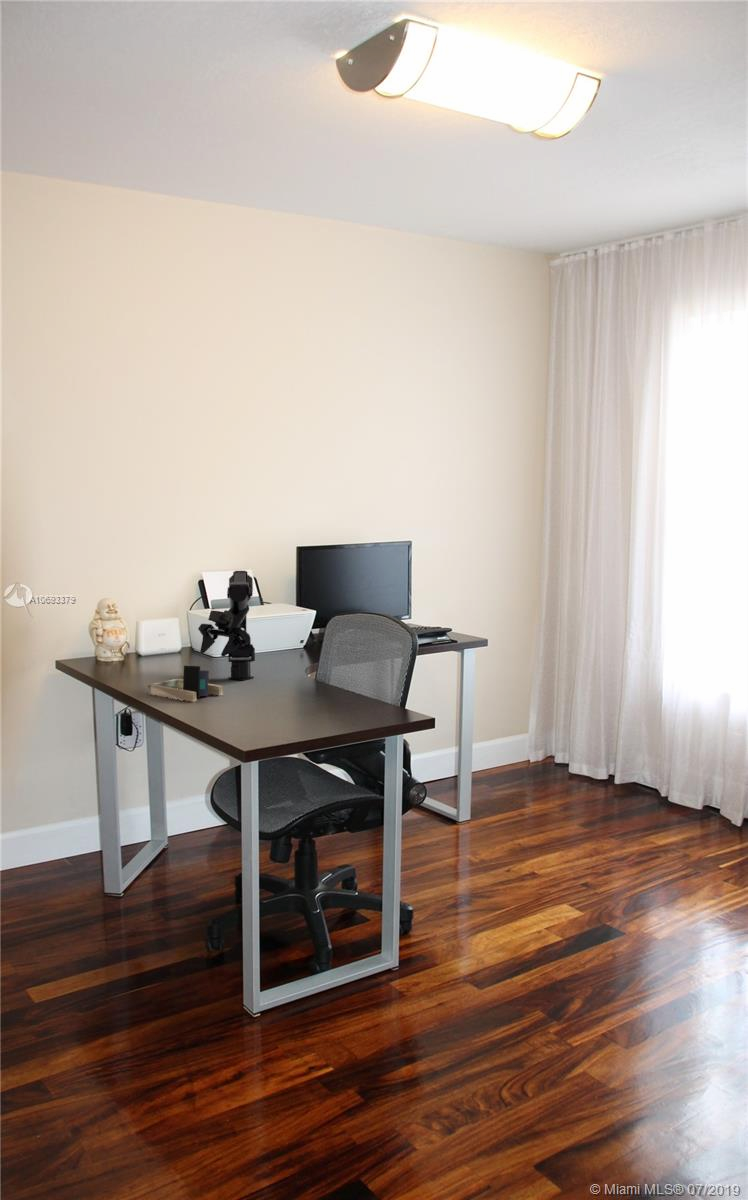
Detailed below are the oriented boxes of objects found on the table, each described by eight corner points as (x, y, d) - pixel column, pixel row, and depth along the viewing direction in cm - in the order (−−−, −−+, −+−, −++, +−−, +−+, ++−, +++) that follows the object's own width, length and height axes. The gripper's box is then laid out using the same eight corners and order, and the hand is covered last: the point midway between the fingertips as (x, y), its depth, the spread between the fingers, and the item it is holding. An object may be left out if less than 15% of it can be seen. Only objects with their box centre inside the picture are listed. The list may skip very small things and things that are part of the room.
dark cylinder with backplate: (196, 699, 303) (196, 666, 303) (182, 698, 306) (182, 665, 306) (212, 697, 309) (212, 665, 309) (198, 696, 312) (198, 664, 312)
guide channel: (177, 687, 323) (177, 678, 322) (222, 695, 311) (222, 685, 310) (147, 694, 312) (147, 684, 312) (192, 702, 300) (192, 692, 300)
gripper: (201, 599, 320) (177, 636, 312) (244, 603, 310) (220, 641, 302) (219, 620, 328) (195, 657, 320) (260, 624, 317) (237, 663, 309)
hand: (211, 654), depth 312 cm, fingers open, 9 cm apart
